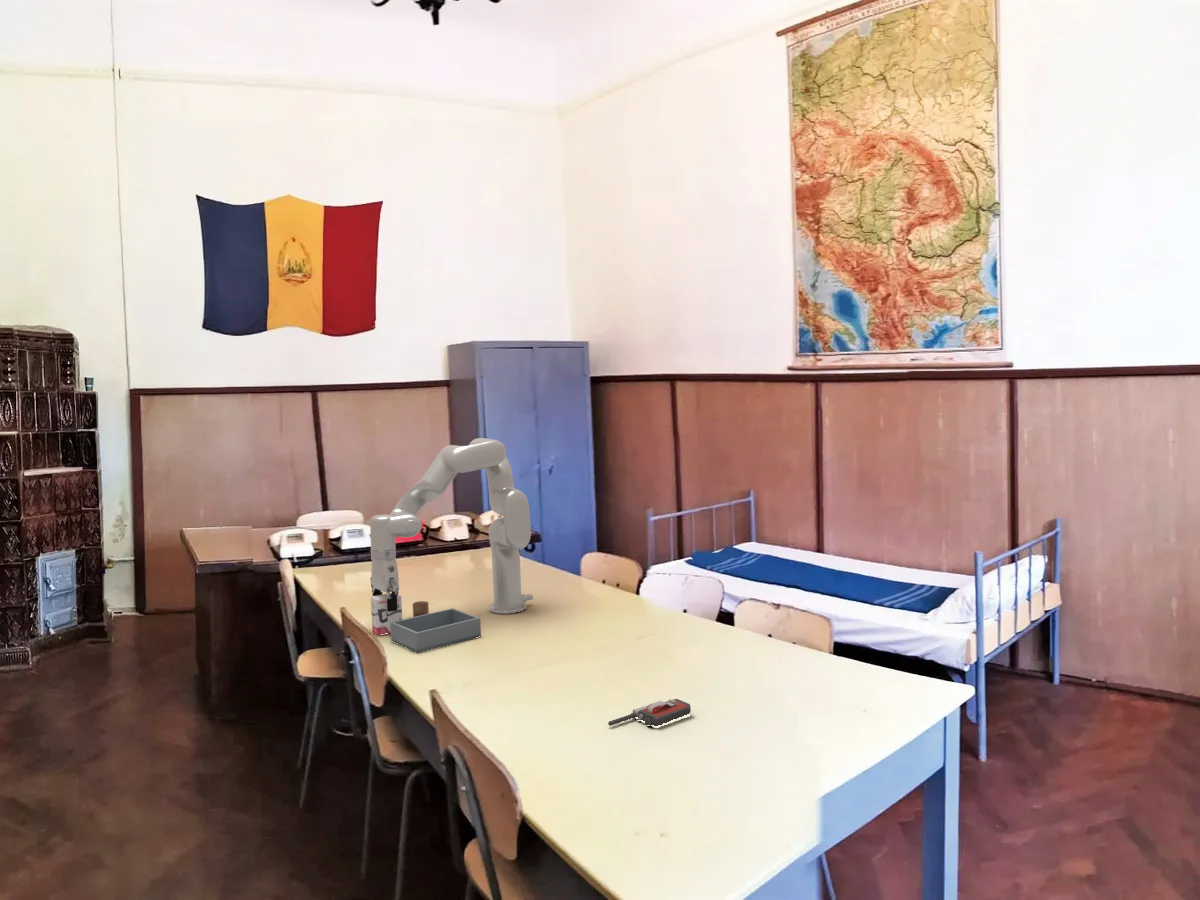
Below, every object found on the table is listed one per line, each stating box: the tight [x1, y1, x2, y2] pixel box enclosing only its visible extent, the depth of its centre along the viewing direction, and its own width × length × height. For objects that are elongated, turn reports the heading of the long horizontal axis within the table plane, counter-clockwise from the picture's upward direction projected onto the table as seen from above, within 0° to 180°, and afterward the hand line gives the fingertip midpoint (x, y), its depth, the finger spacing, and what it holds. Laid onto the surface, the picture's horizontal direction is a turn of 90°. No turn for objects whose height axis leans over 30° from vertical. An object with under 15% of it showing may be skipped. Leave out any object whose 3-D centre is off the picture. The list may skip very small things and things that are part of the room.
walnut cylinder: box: [412, 600, 430, 617], centre depth 283 cm, size 5×5×7 cm
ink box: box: [370, 592, 403, 637], centre depth 275 cm, size 8×5×12 cm, turn 123°
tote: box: [390, 607, 482, 654], centre depth 267 cm, size 22×16×6 cm
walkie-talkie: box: [607, 698, 692, 726], centre depth 200 cm, size 9×4×20 cm
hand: (385, 607), depth 275 cm, fingers open, 9 cm apart
